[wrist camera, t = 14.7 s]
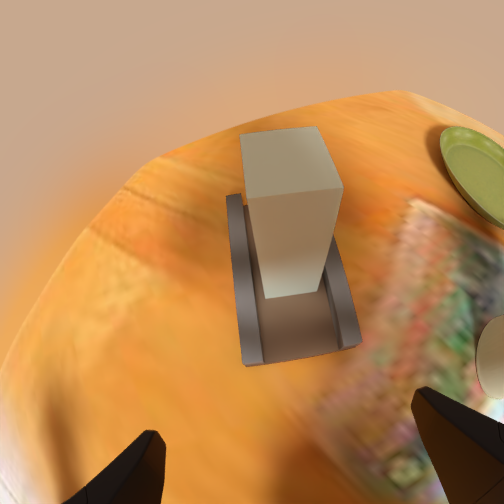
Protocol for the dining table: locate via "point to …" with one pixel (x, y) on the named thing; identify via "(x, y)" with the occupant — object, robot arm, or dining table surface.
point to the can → (491, 358)
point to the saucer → (476, 170)
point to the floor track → (287, 304)
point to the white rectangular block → (290, 206)
